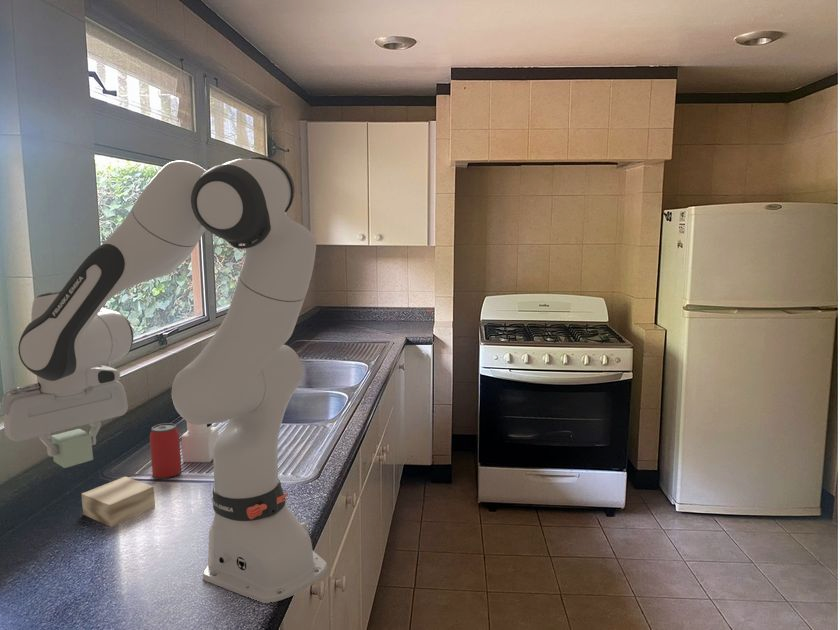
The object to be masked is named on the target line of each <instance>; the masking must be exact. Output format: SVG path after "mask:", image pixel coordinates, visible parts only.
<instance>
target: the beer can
mask: <svg viewBox="0 0 840 630" xmlns="http://www.w3.org/2000/svg"><path fill="white" fill-rule="evenodd" d="M150 430H151V432H150V433H149V447H150V457H151V458H150V459H151V473H152V476H153V477H154V478H156V479H160V480H161V479H162V478H164V479H169V478H170V477H171V478H174V477H176V476H178V475H179V474H180V473H181V471H182V457H181V456H182V455H181V442H180V433H179V430H178V428H177V424H175V423H172V422H170V423H169V422H165V423H159V424H155V425H154V426H152V427H150ZM173 476H174V477H173Z"/></svg>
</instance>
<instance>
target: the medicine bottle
mask: <svg viewBox="0 0 840 630" xmlns="http://www.w3.org/2000/svg"><path fill="white" fill-rule="evenodd" d="M186 429H187V431H186V432H184V433H183V434H182V435H181V436H180V438H181V439H180V440H181V442H180V443H181V454H182V455H181V456H182V457H181V458H182V462H183V463H211V461H212V460H213V448H214V445H215V443H216V441H217V439H218V438H219V436H220V434H219V427H218V426H213V423H211V424H202V425H194V424H191V423H189V422H187V421H186Z"/></svg>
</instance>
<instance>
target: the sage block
mask: <svg viewBox="0 0 840 630" xmlns="http://www.w3.org/2000/svg"><path fill="white" fill-rule="evenodd" d="M50 441H51V444H57V445H59V451H60V454H58V455H55V456H52V458H53V462H54V463H55V464H57V465H59V466H60V467H62V468H64V469H65V468H70V467H73V466H77V465H80V464H83V463H87V462H90V461H93V460H94V454H93V445H92V442H91V434H89V432H87V431H85V430H83V429H81V428H76V429H72V430H68V431H64V432H60V433H57V434H51V439H50Z"/></svg>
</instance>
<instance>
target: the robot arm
mask: <svg viewBox="0 0 840 630" xmlns="http://www.w3.org/2000/svg"><path fill="white" fill-rule="evenodd" d="M295 190H296V189H295V183H294V180H293V177H292V176H291V173H290V172H289V171H288V169H287V168H286V167H285V166H284V165H283V164H281V163H280V162H278V161H277V160H274V159H272V158H266V157H262V156H259V157H252V158H238V159H234V160H231V161H227V162H225V163H222V164H218V165H215V166H213V167H211V168H209V169H208V170H206V169H204V168H203V167H201V166H200V165H198V164H195V163H194V162H191V161H187V160H174V161H170V162H168V163H166V164H165V165H164V166H163V167H162V168H161V169H160V170H159V171H158V172H157V173H156V174H155V175H154V177H152V179H151V180H150V181H149V182H148V184H147V185H146V186H145V188H144V189H143V190H142V191H141V194H140V195H139V197H138V198H137V199H136V201H135V203H134V205H133V206H132V208H131V209H130V211H129V212H128V214H127V215H126V217H125V218H124V219H123V221H122V222H121V224H119V226H118V227H117V228H116V229H115V231H114V232H113V233H112V234H111V235H110V236H109V237H108V238H107V239H106V240H104V242H103V243H102V244H100V245H99V246H98V247H97V248H95V249H94V251H92V252H91V253H90V254H89V255H88V256H86V258H85V260H83V262H82V263H81V264H80V265H79V266H78V268H77V269H76V271H75V272H74V273H73V274H72V276H71V277H70V278H69V280H68V281H67V282H66V283H65V285H64V286H63V287H62V289H61V290H58V291H51V292H45V293H42V294H39V295H37V296H36V297H35V298H34V299H33V302H32V305H31V315H30V316H31V319H30V320H31V322H29V323H28V324H27V326H26V327H25V329H24V330H23V332H22V333H21V336H20V338H19V342H18V346H17V347H18V356H19V359H20V361H21V363H22V364H23V366H24V367H25V368H26V370H28V371H29V372H30V373H32V374H33V375H35V376H36V383H33V384H32V383H31V384H27V385H23V386H16V387H11V388H10V389H9V390H7V391H6V392H5V393H4V394H3V395H2V396H1V399H0V405H1V410H2V412H3V413H4V418H3V419H4V420H3V421H4V422H3V426H4V435H5V436H6V437H7V438H8V439H10V440H11V441H14V442H21V441H25V440H29V439H33V438H36V437H37V438H38V439H39V440H40V441H41V442H42V443H43V444H44V446H46V452H47V455H48V456H49V457H53V456H55V455H58V454H60V451H59V445H57V444H52V442H51V436H52V434H53V433H57V432H60V431H65V430H68V429H72V428H76V427H77V428H78V427H81V426H85V425H88V426H89V427H90V429H89V432H88V433H89V434H91V442H92V446H94V445H97V438H96V437H97V435H98V433H99V431H100V430H101V427H102V421H105V420H109V419H113V418H117V417H122V416H124V415H125V414H126V413H127V411H128V406H129V405H128V400H127V393H126V389H125V387H124V385H123V383H121V382H120V381H119V380H120V379H121V372H120V370H118V369H116V368H114V367H112V366H111V367H110V366H107V365H106V364H111V363H113V362H117V361H119V360H121V359H123V358H125V357H126V356H128V354H129V353H130V351H131V350H132V347H133V344H134V330H133V328H132V325H131V322H130V321H129V319H128V318H127V317H126V316H125V315H124V314H123V313H121V312H120V311H117V310H115V309H108V308H106V307H104V306H105V305H106V303H108V302H109V300H111V299H112V298H113V297H115V296H116V295H118V294H119V293H122V292H123V291H125V290H127V289H130V288H132V287H134V286H135V287H136V286H137V285H139V284H142V283H143V284H144V283H145V282H148V281H152V280H155V279H158V278H160V277H163V276H166V275H169V274H172V273H173V272H175V271H176V270H177V269H178V268H180V266H181V265H182V264H183V263H184V262H185V261H186V260H187V259H188V258H189V257H190V255H191V254H192V252H193V251H194V249H195V248H196V246H197V245H198V243H199V241H200V240H201V238H202V236H203V234H204V233H205V231H207V232H209V233H211V234H212V235H215V236H216V237H219V238H220V239H223V240H224V241H226V242H227V243H228V244H230V246H232V247H233V248H235V249H238V250H245V256H244V260H243V263H242V267H241V270H240V274H239V277H238V279H237V280H238V281H237V283H236V287H235V289H234V292H233V296H232V298H231V301H230V304H229V307H228V310H227V312H226V314H225V316H224V319H223V320H222V323H220V325H219V328H217V330H216V332H215V333H213V336H212V337H211V339H210V340H209V341H208V343H207V344H206V345H205V347H204V348H203V349H202V350H201V352H199V354H198V355H197V356H196V357H195V358H194V359H193V360H192V361H191V362H190V363H189V364H187V365H186V366H185V367H183V368H182V369H181V370H180V371H178V372H177V374H176V375H175V377H174V379H173V381H172V387H171V398H172V403H173V406H174V408H175V410H176V412H177V413H178V414H179V416H180V417H181V418H182V419H184V420H185V421H186V423H187V422H189V423H191V424H194V425H202V424H211V423H212V424H217V423H223V422H226V421H227V424H226V426H225V428H224V430H223V431H222V432H221V434H219V438H218V439H217V441H216V443H215V445H214V448H213V459H212V460H213V461H212V463H213V479H214V480H213V481H214V483H213V484H214V486H213V488H212V495H211V502H212V508H213V511H214V512H215V513H214V517H213V520H212V523H211V525H210V528H209V531H208V534H209V535H208V551H207V553H208V555H207V557H208V558H207V566H206V567H205V569H204V570H203V572H202V579H203V580H204V582H205V581H206V582H208V583H210V584H213V585H215V586H218V587H221V588H223V589H225V590H228V591H231V592H233V593H236V594H238V595H241V596H243V597H245V596H246V598H248V597H249V599H250V598H251V600H253V599H254V600H253V601H255V600H257V601H256V602H258V601H260V602H259V603H261V602H262V603H261V604H265V603H266V604H271V603H270V602H272V603H276V602H279V601H283V600H285V599H287V598H290V597H292V596H294V595H297V594H299V593H300V592H302V591H304V590H306V589H307V588H308V587H310V586H311V585H313V584H314V583H316V582H317V581H319V580H320V579H321V578H322V577H323V576H324V575H325V573H326V572H327V570H328V564H327V563H328V562H327V561H326V560H324V559H323V558H322V557H321V556H320V555H319V554H317V553H316V552H315V551H314V549H313V543H312V539H311V537H310V535H309V526H308V525H307V523H306V522H305V521H303V522H300V521H299V520H298V519H297V517H296V516H295V515H294V514H293V512H292V510H291V509H290V508H289V507H288V506H287V504H286V503H287V502H286V501H287V500H289V498H287V496H288V495H289V494H288V493H284V488H283V486H282V484H281V480H280V479H279V468H278V467H279V466H278V465H279V464H278V462H279V460H278V459H279V458H278V456H279V455H278V454H279V453H278V444H279V443H278V442H279V436H280V431H281V426H282V423H283V420H284V417H285V413H286V411H287V407H288V404H289V401H290V400H291V398H292V396H293V395H294V393H295V392H296V391H297V389H298V388H299V386H300V384H301V382H302V379H303V373H304V371H303V364H302V361H301V359H300V357H299V355H298V353H297V352H296V351H295V350H294V349H293V348H292V347H291V346H289V345H286V343H287V342H288V341H289V339H290V338H291V336H292V335H293V333H294V330H295V327H296V324H297V322H298V319H299V316H300V313H301V310H302V307H303V305H304V302H305V299H306V296H307V293H308V290H309V286H310V284H311V283H310V282H311V279H312V275H313V271H314V266H315V261H316V251H317V243H316V238H315V236H314V235H313V234H312V232H311V231H310V230H309V229H308V228H307V227H305V226H304V225H302V224H301V223H299V222H297V221H294V220H292V219H291V218H290V217H289V216H288V215H287V212H288V211H289V209H290V208H291V206H292V204H293V201H294V199H295V193H296V191H295Z"/></svg>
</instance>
